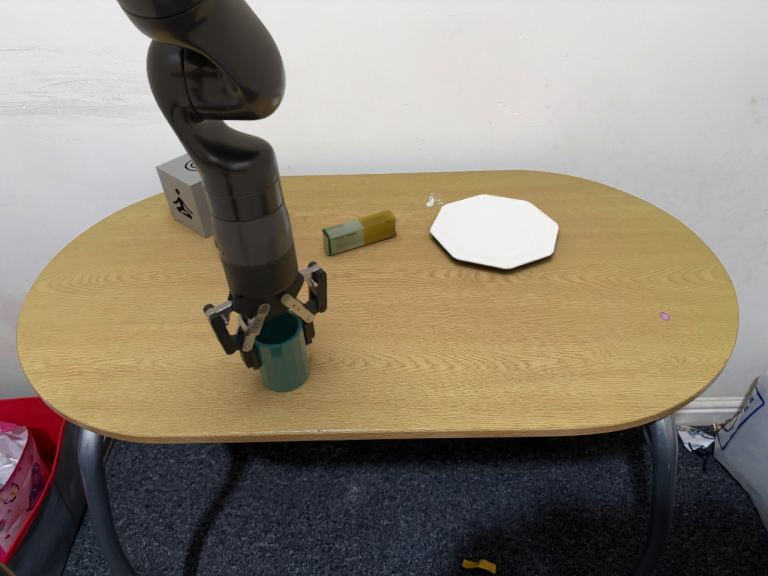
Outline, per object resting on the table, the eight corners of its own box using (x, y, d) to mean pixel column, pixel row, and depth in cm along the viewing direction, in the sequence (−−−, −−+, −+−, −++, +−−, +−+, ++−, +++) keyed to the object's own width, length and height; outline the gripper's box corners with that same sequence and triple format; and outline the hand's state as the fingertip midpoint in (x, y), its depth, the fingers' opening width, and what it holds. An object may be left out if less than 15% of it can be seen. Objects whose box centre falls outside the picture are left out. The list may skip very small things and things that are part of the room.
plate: (451, 195, 98) (451, 188, 97) (561, 214, 92) (563, 206, 91) (418, 258, 84) (418, 250, 83) (546, 284, 79) (548, 276, 78)
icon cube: (219, 194, 100) (206, 145, 94) (252, 212, 95) (241, 161, 89) (172, 217, 95) (155, 166, 88) (205, 238, 90) (190, 185, 83)
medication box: (328, 257, 85) (326, 238, 82) (322, 247, 87) (320, 228, 84) (396, 236, 88) (396, 217, 86) (389, 226, 90) (389, 207, 87)
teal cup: (285, 400, 64) (275, 355, 59) (249, 377, 67) (236, 332, 62) (320, 367, 68) (313, 322, 62) (284, 346, 71) (274, 301, 65)
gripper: (199, 287, 49) (237, 400, 60) (335, 233, 54) (347, 345, 65) (173, 247, 53) (213, 359, 64) (301, 201, 59) (318, 311, 70)
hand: (280, 352), depth 65 cm, fingers closed on teal cup, 6 cm apart
